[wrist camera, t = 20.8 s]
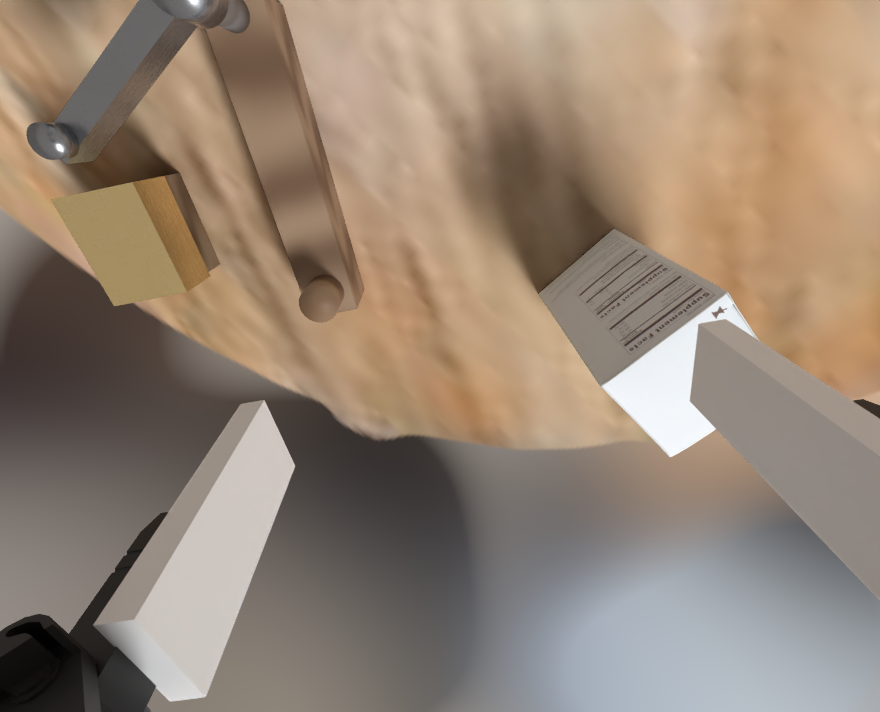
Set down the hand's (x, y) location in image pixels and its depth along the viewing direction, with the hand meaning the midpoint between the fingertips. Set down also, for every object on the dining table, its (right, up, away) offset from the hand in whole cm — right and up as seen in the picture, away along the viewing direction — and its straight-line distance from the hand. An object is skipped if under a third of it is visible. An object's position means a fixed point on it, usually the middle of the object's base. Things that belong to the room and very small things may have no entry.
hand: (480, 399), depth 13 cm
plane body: (-13, +17, +23) cm, 31 cm away
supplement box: (+15, +8, +29) cm, 34 cm away
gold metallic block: (-24, +11, +21) cm, 34 cm away
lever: (-18, +18, +11) cm, 28 cm away
